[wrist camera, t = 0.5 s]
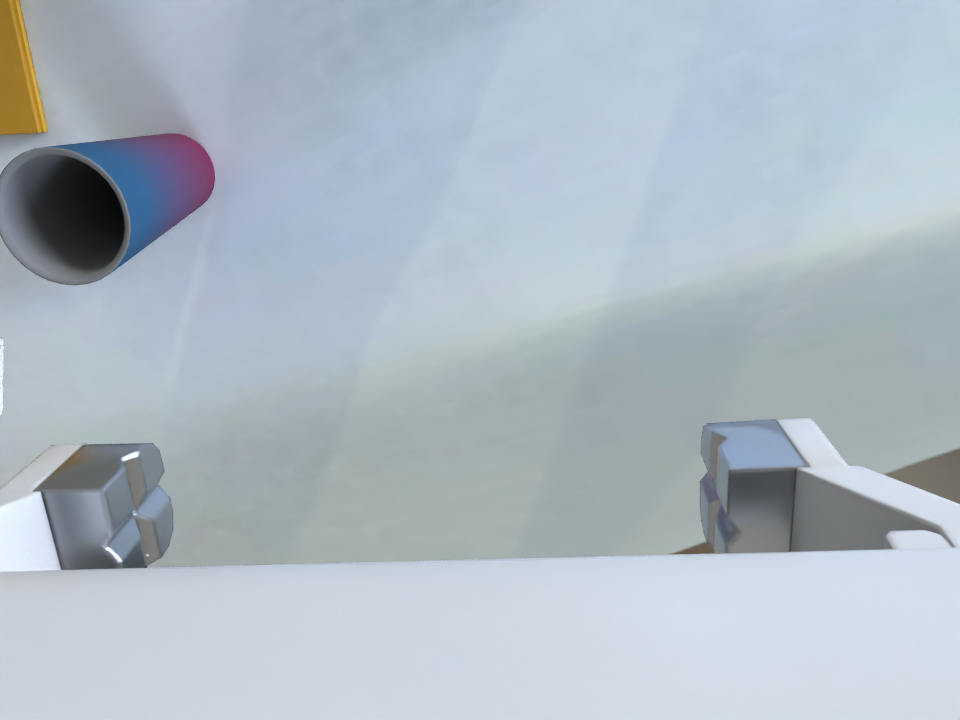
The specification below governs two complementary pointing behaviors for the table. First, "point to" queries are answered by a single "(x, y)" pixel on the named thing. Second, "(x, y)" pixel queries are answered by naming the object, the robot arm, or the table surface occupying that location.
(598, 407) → the table surface
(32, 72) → the cloth
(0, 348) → the milk
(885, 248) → the table surface
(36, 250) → the cup
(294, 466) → the table surface
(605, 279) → the table surface
